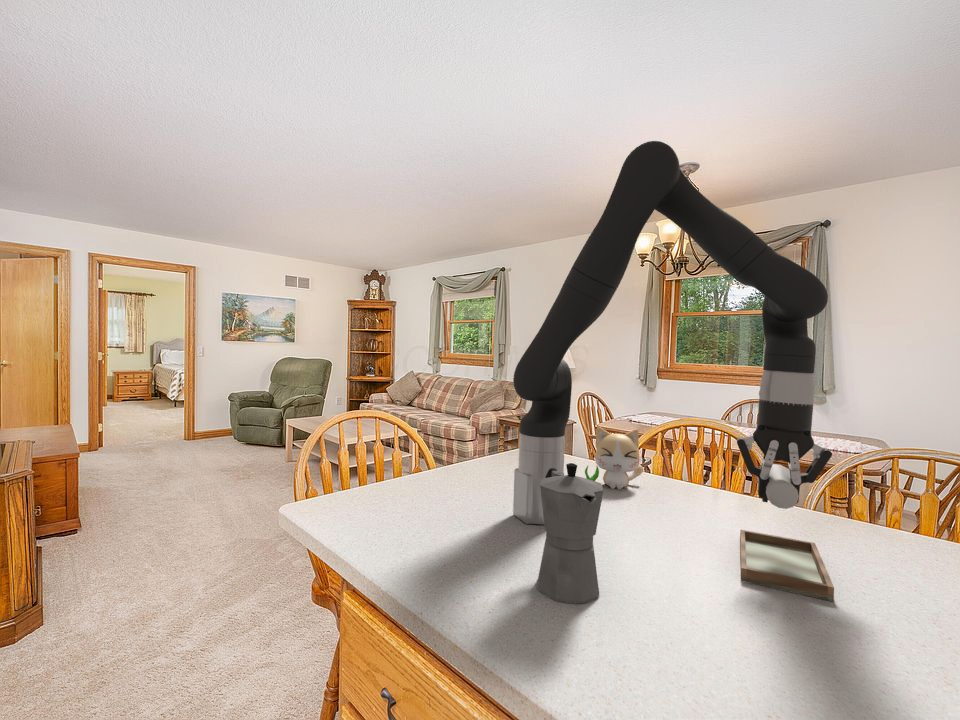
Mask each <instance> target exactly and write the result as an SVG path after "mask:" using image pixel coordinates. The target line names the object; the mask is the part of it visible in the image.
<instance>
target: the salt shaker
mask: <svg viewBox="0 0 960 720" xmlns="http://www.w3.org/2000/svg"><path fill="white" fill-rule="evenodd" d="M768 480H769V482H768V485H767V486H766V495H767V499H768V501H769V503H770V504H771V505H773V506H775V507H776V508H778V509H785V510H787V509H791V508H794V506H796V505H797V504H798V503H797V501H798V498H799V499H800V494H799V495H798V491H797V489H796V488H795V487H794V486H793V485H792V484H791V481H790V471H789V467H785V466H784V465H782V464H776V463H773V465H772V467H771V470H770V474H769V477H768ZM756 482H757V483H758V482H759V478H758V477H757V476H756ZM796 503H797V504H796Z"/></svg>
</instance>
